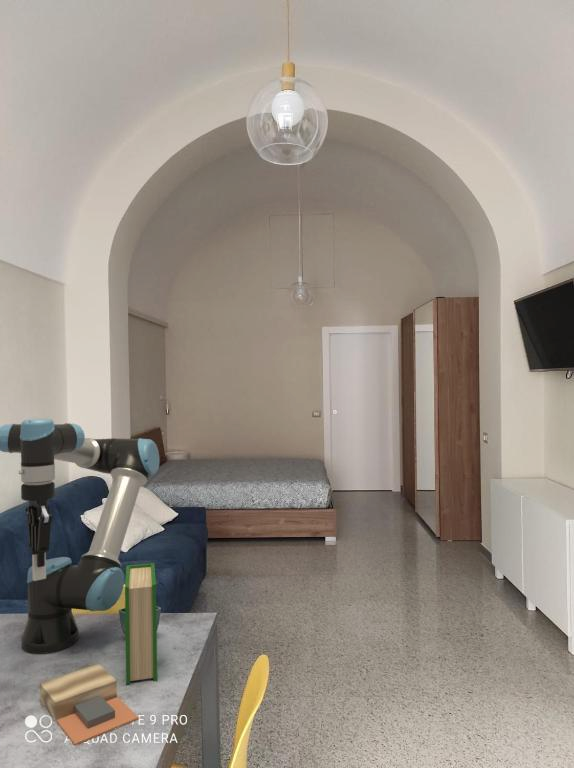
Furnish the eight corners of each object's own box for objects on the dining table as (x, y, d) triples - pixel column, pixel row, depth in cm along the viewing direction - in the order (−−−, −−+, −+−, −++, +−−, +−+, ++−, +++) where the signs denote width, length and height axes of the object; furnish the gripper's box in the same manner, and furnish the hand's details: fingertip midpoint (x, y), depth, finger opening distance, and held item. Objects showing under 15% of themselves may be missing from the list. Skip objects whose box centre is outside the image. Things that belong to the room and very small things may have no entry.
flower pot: (143, 630, 171) (143, 600, 171) (162, 638, 166) (161, 607, 166) (118, 641, 165) (117, 609, 165) (136, 649, 159) (136, 617, 159)
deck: (39, 700, 134) (39, 683, 134) (98, 679, 143) (98, 663, 143) (55, 720, 126) (55, 702, 126) (116, 697, 135) (116, 680, 135)
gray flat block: (74, 712, 128) (74, 705, 128) (100, 702, 132) (100, 695, 132) (88, 728, 122) (88, 721, 122) (115, 717, 126) (115, 710, 126)
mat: (56, 721, 125) (56, 720, 125) (117, 698, 134) (117, 696, 134) (74, 745, 117) (74, 743, 117) (138, 719, 126) (138, 717, 126)
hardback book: (157, 681, 142) (155, 584, 142) (126, 685, 140) (124, 587, 140) (155, 649, 159) (154, 563, 159) (127, 653, 157) (126, 565, 157)
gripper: (14, 480, 142) (15, 575, 142) (29, 487, 132) (31, 589, 132) (45, 477, 147) (46, 569, 147) (62, 483, 137) (64, 582, 137)
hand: (39, 578), depth 140 cm, fingers closed
